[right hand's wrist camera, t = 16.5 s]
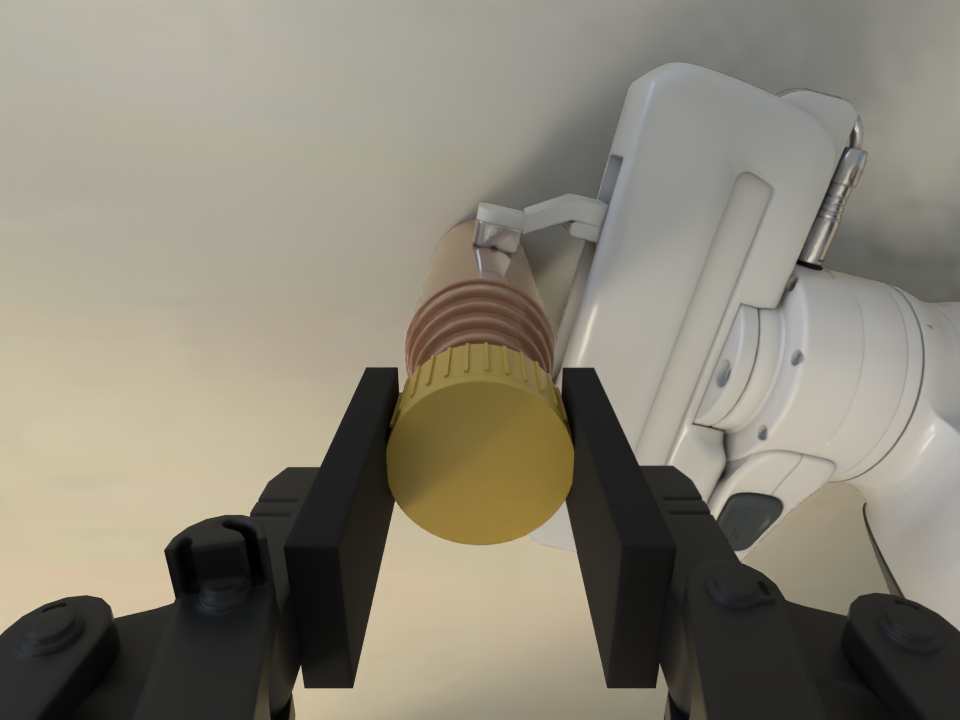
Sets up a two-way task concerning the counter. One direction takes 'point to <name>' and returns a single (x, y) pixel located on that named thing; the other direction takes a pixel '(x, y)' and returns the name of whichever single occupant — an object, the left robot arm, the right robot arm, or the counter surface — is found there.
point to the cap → (480, 446)
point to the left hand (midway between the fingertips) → (458, 297)
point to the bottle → (478, 303)
